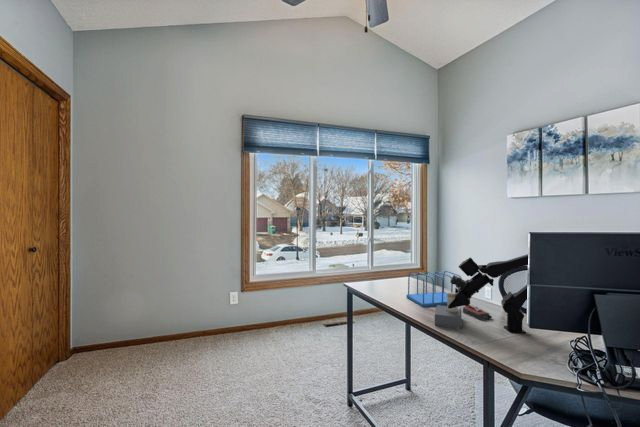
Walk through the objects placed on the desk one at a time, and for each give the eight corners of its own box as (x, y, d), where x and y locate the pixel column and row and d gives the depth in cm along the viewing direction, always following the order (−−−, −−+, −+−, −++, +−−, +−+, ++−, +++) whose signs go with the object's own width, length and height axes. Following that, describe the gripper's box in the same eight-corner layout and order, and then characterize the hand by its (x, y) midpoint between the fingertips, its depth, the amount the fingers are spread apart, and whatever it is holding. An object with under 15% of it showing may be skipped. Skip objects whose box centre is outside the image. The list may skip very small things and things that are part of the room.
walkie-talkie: (495, 319, 153) (466, 306, 172) (495, 310, 153) (466, 298, 172) (480, 321, 151) (452, 308, 170) (480, 312, 151) (452, 299, 170)
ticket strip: (456, 321, 149) (456, 293, 149) (456, 322, 148) (456, 293, 147) (447, 320, 151) (447, 292, 150) (447, 321, 150) (447, 292, 149)
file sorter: (422, 307, 171) (422, 278, 170) (406, 298, 188) (406, 271, 187) (463, 303, 177) (463, 275, 176) (443, 294, 194) (444, 269, 193)
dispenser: (461, 318, 154) (461, 306, 154) (461, 328, 141) (461, 315, 141) (436, 315, 159) (436, 303, 158) (434, 325, 146) (434, 312, 145)
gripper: (461, 266, 155) (436, 287, 160) (461, 274, 138) (434, 297, 143) (479, 284, 153) (454, 304, 157) (482, 294, 136) (453, 317, 140)
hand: (448, 305), depth 150 cm, fingers open, 7 cm apart
